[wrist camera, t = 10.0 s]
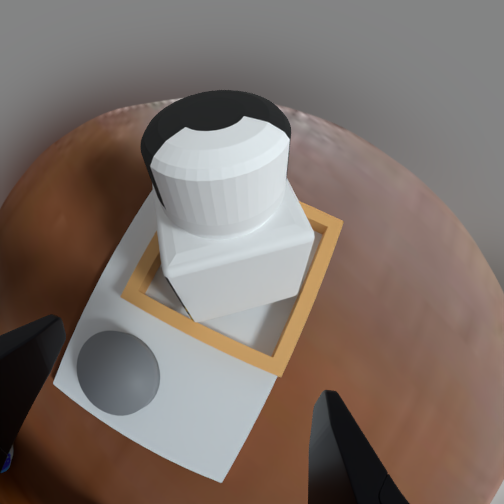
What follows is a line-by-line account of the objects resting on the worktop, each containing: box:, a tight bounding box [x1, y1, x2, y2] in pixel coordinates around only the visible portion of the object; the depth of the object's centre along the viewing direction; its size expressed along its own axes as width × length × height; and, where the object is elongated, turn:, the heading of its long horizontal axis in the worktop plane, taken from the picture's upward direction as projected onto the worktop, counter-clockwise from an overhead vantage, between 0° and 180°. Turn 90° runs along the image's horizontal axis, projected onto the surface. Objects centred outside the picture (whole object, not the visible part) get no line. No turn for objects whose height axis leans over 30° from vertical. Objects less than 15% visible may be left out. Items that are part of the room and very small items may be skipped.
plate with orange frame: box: [53, 190, 344, 483], centre depth 20 cm, size 22×15×2 cm
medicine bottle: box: [141, 90, 315, 322], centre depth 15 cm, size 7×7×12 cm
